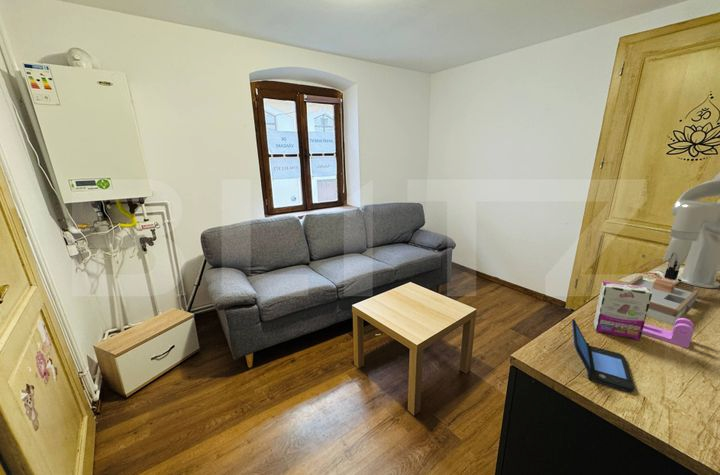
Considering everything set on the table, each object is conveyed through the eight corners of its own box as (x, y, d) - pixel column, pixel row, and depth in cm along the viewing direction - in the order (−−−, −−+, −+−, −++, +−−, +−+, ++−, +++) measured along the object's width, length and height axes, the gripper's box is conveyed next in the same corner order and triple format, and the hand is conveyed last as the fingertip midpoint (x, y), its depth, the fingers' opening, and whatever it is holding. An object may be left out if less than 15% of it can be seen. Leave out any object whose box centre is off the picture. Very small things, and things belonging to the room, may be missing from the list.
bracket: (688, 340, 90) (694, 320, 88) (687, 348, 86) (694, 328, 84) (631, 323, 99) (636, 305, 97) (629, 330, 96) (634, 311, 94)
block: (656, 285, 118) (658, 278, 117) (673, 289, 114) (675, 282, 113) (652, 288, 116) (654, 281, 115) (669, 293, 112) (671, 286, 111)
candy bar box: (634, 332, 94) (647, 286, 90) (640, 341, 90) (654, 293, 85) (591, 324, 99) (601, 280, 95) (595, 331, 95) (605, 286, 90)
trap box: (637, 284, 125) (640, 273, 124) (695, 300, 111) (700, 287, 110) (610, 303, 111) (613, 290, 110) (673, 324, 97) (677, 310, 96)
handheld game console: (634, 395, 71) (643, 364, 69) (568, 374, 78) (574, 345, 76) (623, 357, 84) (630, 330, 81) (566, 343, 91) (572, 316, 88)
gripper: (676, 230, 120) (663, 271, 125) (664, 235, 112) (651, 279, 117) (703, 234, 114) (688, 277, 119) (692, 240, 106) (677, 286, 111)
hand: (670, 278), depth 118 cm, fingers closed
